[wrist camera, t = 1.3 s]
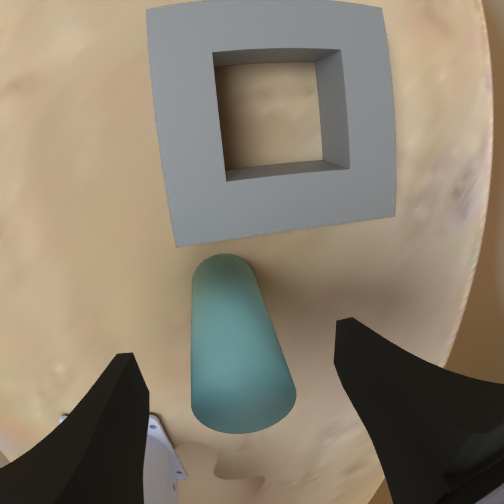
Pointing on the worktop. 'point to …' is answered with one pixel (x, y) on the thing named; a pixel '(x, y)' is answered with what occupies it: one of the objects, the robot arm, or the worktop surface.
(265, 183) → the socket block
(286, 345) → the worktop surface
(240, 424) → the peg
